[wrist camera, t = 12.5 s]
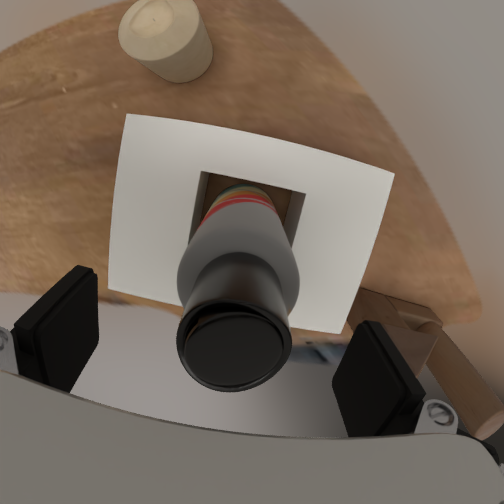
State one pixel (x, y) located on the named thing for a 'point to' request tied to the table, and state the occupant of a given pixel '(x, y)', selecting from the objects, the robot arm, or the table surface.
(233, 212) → the lotion bottle
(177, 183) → the bottle caddy
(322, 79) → the table surface
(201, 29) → the candle
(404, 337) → the brown block with handle
